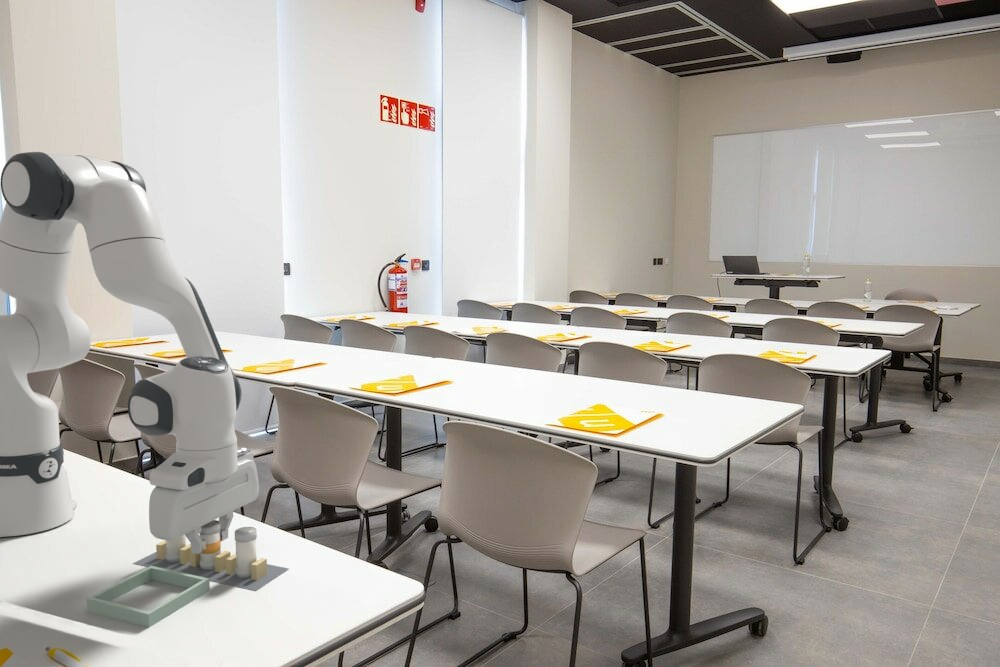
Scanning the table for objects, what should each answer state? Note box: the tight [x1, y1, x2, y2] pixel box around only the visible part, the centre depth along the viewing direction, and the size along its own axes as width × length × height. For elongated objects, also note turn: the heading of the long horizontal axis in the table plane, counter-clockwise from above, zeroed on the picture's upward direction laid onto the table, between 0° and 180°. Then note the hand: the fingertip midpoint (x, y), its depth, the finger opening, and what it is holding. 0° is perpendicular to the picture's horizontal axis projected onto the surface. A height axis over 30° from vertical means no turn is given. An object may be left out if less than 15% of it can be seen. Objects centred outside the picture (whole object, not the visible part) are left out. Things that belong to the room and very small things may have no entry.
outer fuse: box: [234, 526, 258, 578], centre depth 112 cm, size 3×3×7 cm
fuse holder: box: [132, 540, 290, 592], centre depth 114 cm, size 24×8×4 cm, turn 70°
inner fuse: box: [165, 534, 187, 563], centre depth 116 cm, size 3×3×7 cm
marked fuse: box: [198, 519, 222, 571], centre depth 114 cm, size 3×3×7 cm
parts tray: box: [86, 566, 211, 628], centre depth 103 cm, size 11×11×3 cm
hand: (210, 545), depth 114 cm, fingers open, 3 cm apart
